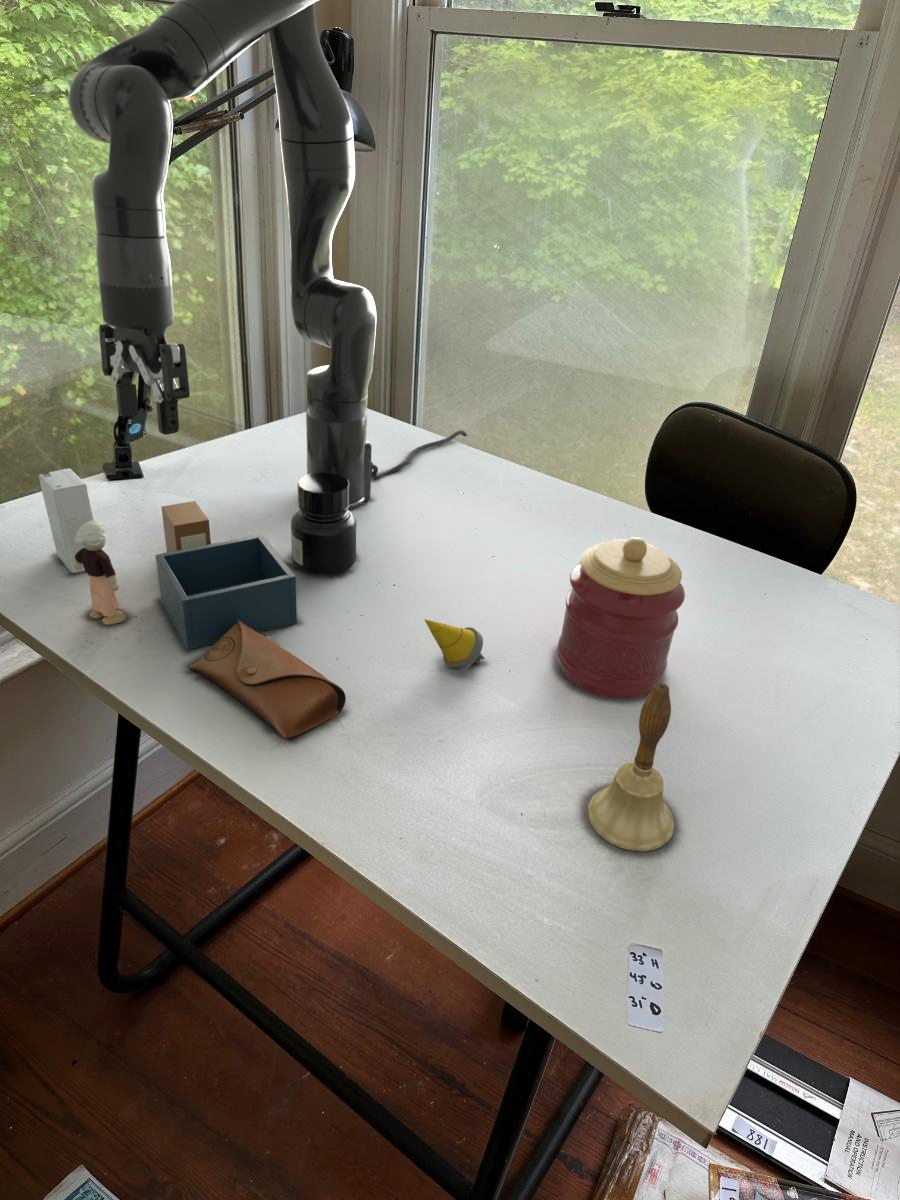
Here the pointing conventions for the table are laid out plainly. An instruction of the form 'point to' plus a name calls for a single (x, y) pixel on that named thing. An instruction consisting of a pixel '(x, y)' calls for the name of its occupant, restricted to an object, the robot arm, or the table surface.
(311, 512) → the ink bottle
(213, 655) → the sunglasses case
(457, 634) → the yellow spinning top
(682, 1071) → the table surface
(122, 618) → the grandmother figurine
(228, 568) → the open storage box
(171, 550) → the brown packet
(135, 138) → the robot arm
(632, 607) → the kitchen canister
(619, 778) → the hand bell
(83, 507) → the cosmetic box
